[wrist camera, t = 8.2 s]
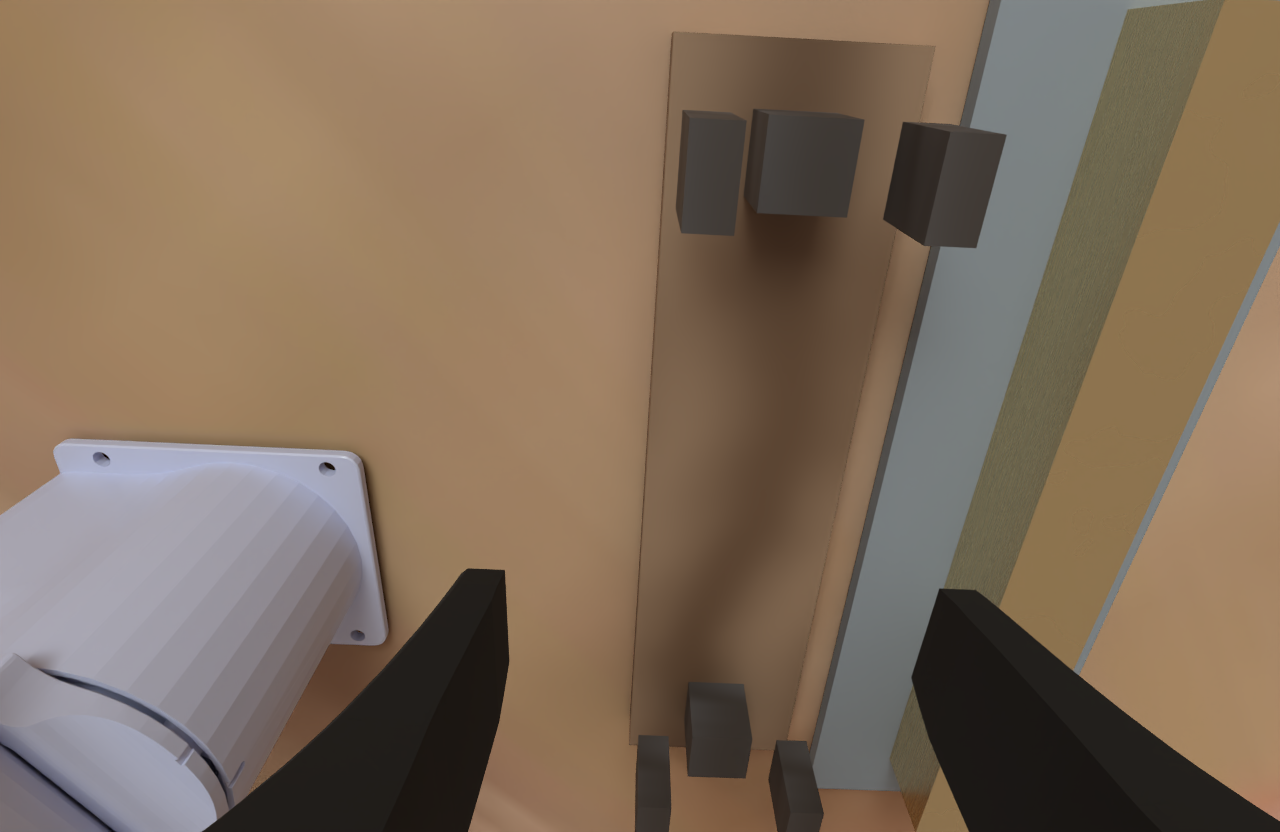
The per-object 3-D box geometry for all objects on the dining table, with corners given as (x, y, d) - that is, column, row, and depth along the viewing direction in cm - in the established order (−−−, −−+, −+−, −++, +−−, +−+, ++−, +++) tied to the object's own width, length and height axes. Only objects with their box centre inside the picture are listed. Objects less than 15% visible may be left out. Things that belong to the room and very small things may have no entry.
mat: (804, 774, 29) (807, 787, 28) (1013, -100, 15) (1026, -106, 15) (1015, 782, 29) (1022, 795, 29) (1405, -77, 16) (1433, -82, 15)
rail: (889, 758, 28) (915, 832, 25) (1127, 9, 16) (1225, -3, 13) (963, 761, 28) (997, 835, 25) (1254, 16, 16) (1378, 6, 13)
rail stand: (629, 718, 28) (626, 875, 22) (671, 34, 17) (684, 17, 11) (779, 724, 28) (811, 882, 22) (916, 47, 17) (1045, 38, 11)
